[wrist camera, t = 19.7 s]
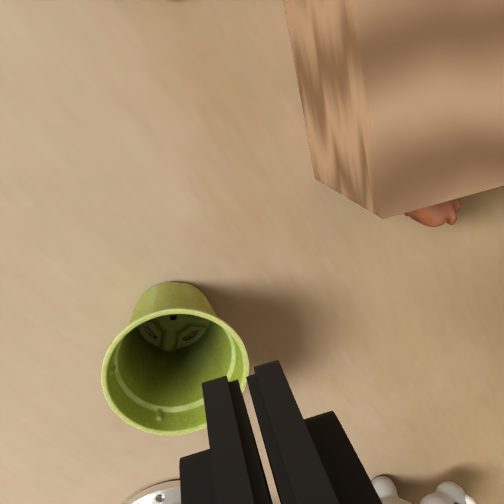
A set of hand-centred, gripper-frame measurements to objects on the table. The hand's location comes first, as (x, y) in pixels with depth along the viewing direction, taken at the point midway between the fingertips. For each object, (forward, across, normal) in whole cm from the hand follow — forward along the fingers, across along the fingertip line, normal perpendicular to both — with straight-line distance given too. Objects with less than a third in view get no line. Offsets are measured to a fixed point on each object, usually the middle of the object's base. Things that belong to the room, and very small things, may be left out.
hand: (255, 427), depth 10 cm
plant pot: (+27, +4, +10) cm, 29 cm away
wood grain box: (+27, -16, -6) cm, 32 cm away
